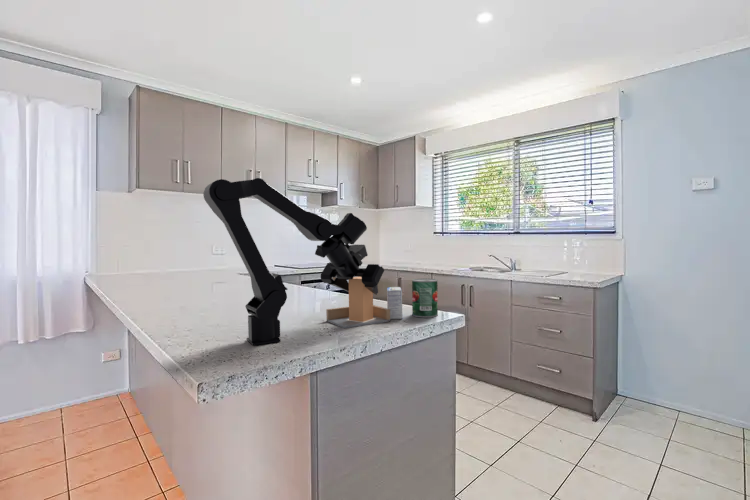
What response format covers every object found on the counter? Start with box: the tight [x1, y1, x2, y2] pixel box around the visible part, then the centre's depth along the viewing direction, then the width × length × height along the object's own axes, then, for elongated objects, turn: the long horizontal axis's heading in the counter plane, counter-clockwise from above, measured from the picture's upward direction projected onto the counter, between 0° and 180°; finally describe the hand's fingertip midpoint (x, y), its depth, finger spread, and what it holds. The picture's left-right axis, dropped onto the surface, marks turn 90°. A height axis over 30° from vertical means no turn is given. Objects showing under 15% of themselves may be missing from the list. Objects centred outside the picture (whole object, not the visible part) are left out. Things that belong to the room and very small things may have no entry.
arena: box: [325, 304, 391, 329], centre depth 116 cm, size 15×11×4 cm
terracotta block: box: [348, 276, 374, 322], centre depth 116 cm, size 5×5×12 cm
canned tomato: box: [411, 278, 439, 318], centre depth 124 cm, size 8×8×11 cm
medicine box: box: [386, 286, 403, 320], centre depth 123 cm, size 8×4×9 cm, turn 179°
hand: (363, 292), depth 117 cm, fingers open, 9 cm apart
